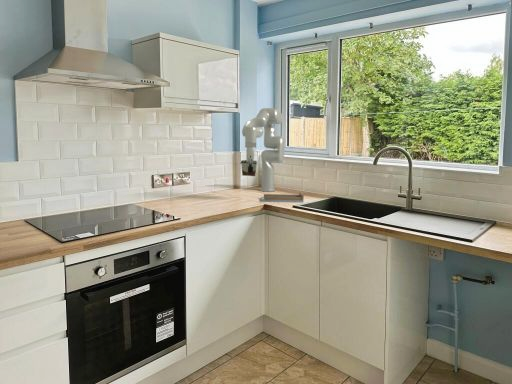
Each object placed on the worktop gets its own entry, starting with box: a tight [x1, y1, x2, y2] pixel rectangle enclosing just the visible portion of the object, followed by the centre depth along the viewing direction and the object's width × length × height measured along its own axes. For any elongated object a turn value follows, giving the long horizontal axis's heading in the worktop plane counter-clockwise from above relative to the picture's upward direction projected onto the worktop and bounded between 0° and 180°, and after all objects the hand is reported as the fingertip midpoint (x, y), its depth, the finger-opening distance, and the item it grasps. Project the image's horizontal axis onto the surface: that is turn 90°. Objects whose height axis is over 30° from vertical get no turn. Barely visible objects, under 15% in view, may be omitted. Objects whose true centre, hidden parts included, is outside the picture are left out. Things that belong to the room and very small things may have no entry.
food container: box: [239, 159, 259, 177], centre depth 282 cm, size 12×6×10 cm, turn 67°
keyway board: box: [260, 191, 305, 203], centre depth 282 cm, size 12×28×5 cm, turn 91°
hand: (250, 171), depth 281 cm, fingers closed on food container, 6 cm apart
